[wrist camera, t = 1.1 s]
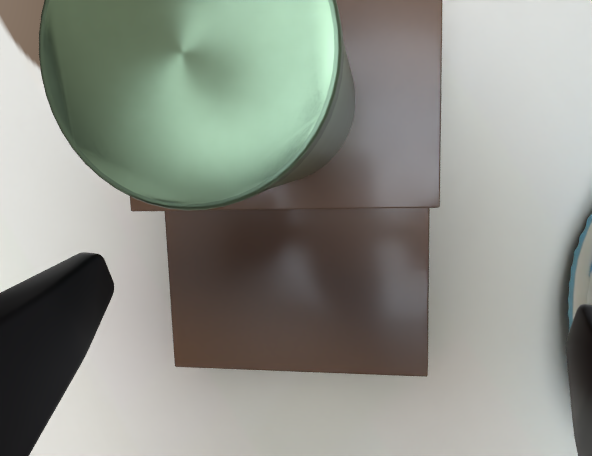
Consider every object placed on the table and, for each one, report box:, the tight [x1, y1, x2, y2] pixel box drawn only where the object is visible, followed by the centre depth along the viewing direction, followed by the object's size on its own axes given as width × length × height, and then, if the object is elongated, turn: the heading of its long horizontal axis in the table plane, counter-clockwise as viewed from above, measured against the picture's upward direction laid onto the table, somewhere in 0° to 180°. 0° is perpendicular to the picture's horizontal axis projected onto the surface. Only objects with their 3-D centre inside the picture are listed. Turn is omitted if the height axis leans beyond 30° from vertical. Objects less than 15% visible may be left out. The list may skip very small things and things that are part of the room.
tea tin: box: [39, 0, 355, 210], centre depth 14 cm, size 6×6×9 cm
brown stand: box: [130, 0, 442, 376], centre depth 21 cm, size 16×12×5 cm
